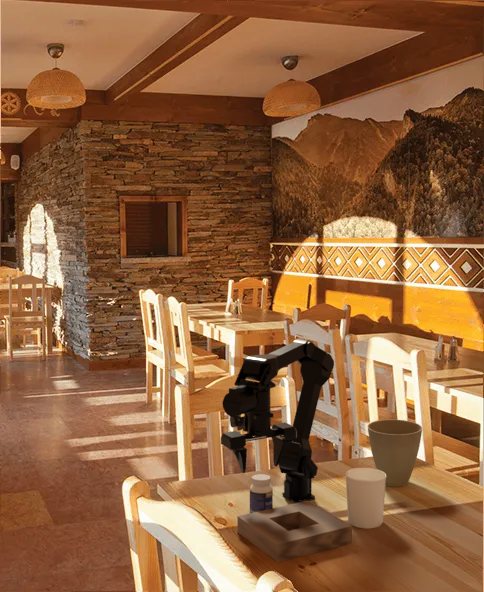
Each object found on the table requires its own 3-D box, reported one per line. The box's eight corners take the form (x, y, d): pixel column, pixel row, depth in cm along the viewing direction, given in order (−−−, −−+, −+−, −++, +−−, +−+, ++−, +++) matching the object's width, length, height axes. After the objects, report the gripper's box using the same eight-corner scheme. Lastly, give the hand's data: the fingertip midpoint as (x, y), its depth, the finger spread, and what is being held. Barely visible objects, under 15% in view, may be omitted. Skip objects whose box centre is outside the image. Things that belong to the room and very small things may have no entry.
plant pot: (381, 469, 228) (381, 416, 226) (429, 479, 220) (430, 424, 218) (357, 484, 216) (357, 428, 214) (407, 495, 208) (408, 437, 206)
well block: (308, 515, 195) (308, 500, 194) (352, 542, 179) (352, 525, 178) (237, 532, 185) (237, 516, 184) (277, 562, 169) (277, 544, 169)
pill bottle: (270, 521, 192) (270, 481, 190) (247, 519, 193) (247, 480, 192) (274, 512, 197) (274, 473, 196) (252, 510, 198) (251, 472, 197)
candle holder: (388, 516, 194) (389, 469, 192) (382, 532, 184) (383, 483, 183) (349, 512, 197) (349, 465, 196) (341, 527, 188) (341, 478, 186)
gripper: (274, 395, 203) (275, 454, 205) (210, 405, 194) (211, 466, 196) (297, 405, 194) (298, 466, 195) (231, 416, 185) (232, 480, 187)
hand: (259, 469), depth 194 cm, fingers open, 9 cm apart
